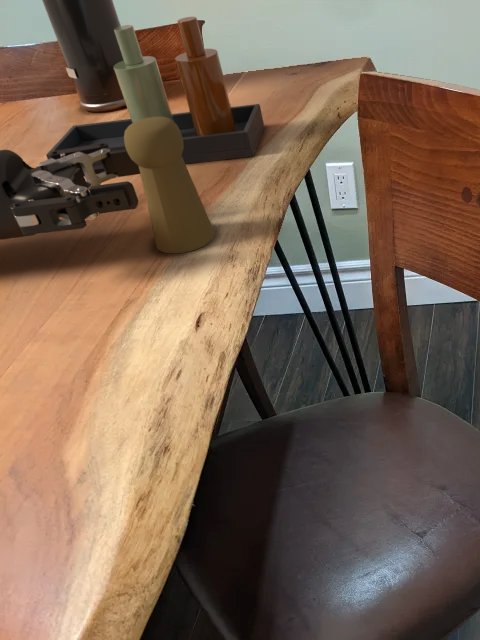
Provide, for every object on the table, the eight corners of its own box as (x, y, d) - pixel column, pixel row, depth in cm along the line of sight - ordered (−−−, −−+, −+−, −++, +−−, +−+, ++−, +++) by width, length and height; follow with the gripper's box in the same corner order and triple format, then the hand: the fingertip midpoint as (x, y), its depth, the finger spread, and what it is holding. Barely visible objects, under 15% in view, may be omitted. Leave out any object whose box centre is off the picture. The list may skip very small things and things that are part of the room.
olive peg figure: (181, 222, 73) (144, 107, 65) (226, 228, 70) (194, 110, 62) (143, 249, 69) (99, 131, 61) (190, 256, 67) (150, 135, 59)
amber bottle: (204, 131, 89) (172, 15, 80) (241, 128, 88) (213, 11, 79) (193, 146, 86) (158, 27, 77) (231, 143, 85) (201, 22, 76)
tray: (55, 178, 86) (45, 154, 84) (82, 147, 93) (73, 125, 91) (253, 156, 84) (247, 131, 82) (264, 127, 91) (259, 103, 89)
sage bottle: (148, 138, 90) (111, 23, 81) (184, 135, 89) (151, 19, 80) (135, 152, 86) (94, 35, 77) (172, 149, 86) (136, 31, 77)
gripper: (-76, 189, 58) (112, 163, 57) (-19, 131, 68) (143, 107, 67) (-28, 272, 64) (144, 248, 63) (18, 207, 73) (168, 186, 73)
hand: (143, 175), depth 65 cm, fingers open, 8 cm apart
